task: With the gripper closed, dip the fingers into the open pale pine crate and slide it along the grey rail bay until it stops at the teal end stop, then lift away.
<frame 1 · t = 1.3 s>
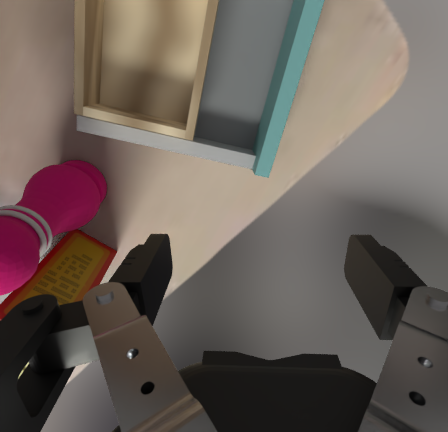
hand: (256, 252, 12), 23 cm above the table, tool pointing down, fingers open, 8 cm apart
crate: (148, 46, 26), point 4 cm above the table, slide at 0.0 cm
bay: (193, 60, 29), on the table
baking soda box: (80, 261, 40), on the table
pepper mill: (82, 183, 35), on the table
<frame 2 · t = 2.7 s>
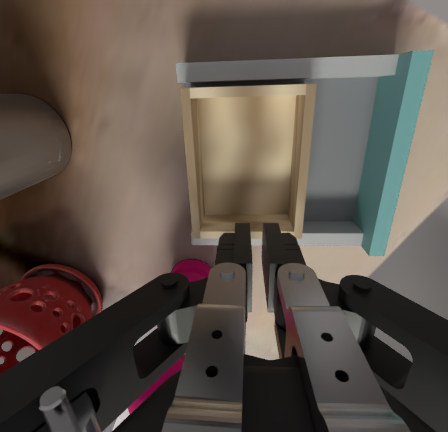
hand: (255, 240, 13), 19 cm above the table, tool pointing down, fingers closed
crate: (246, 164, 28), point 4 cm above the table, slide at 0.0 cm
bay: (281, 155, 31), on the table
plant pot: (66, 292, 41), on the table
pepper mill: (193, 277, 38), on the table
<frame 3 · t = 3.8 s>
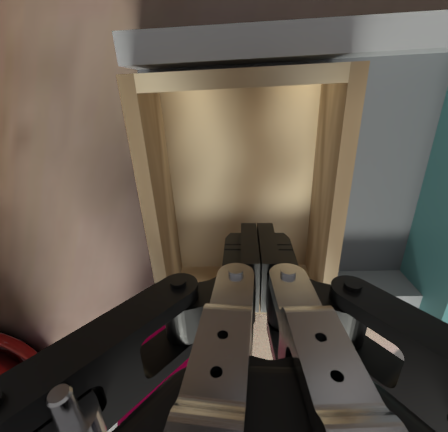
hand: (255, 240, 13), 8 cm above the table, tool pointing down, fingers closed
crate: (241, 198, 17), point 4 cm above the table, slide at 0.0 cm
bay: (294, 178, 20), on the table
plant pot: (4, 360, 30), on the table
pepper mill: (173, 340, 28), on the table
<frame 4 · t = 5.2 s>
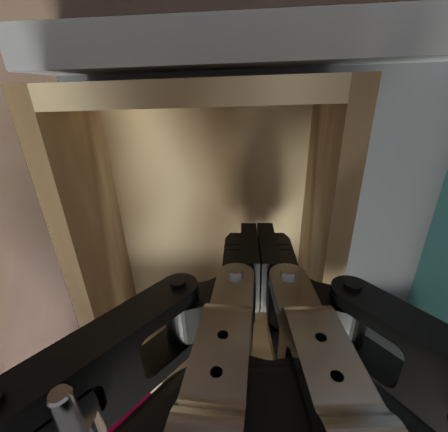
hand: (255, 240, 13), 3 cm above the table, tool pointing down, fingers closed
crate: (206, 246, 13), point 4 cm above the table, slide at 0.8 cm, touching gripper
bay: (267, 214, 16), on the table
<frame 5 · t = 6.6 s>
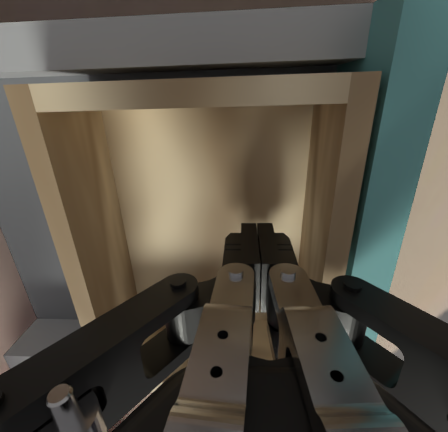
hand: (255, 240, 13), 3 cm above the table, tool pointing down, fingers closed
crate: (207, 245, 13), point 4 cm above the table, slide at 6.6 cm, touching gripper
bay: (168, 214, 17), on the table
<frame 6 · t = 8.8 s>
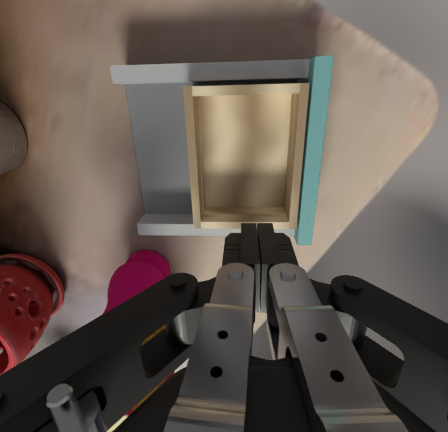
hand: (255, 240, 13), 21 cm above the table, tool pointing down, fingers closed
crate: (244, 158, 29), point 4 cm above the table, slide at 6.6 cm
bay: (221, 152, 33), on the table
baking soda box: (159, 328, 45), on the table
plant pot: (31, 281, 43), on the table
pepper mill: (149, 267, 40), on the table
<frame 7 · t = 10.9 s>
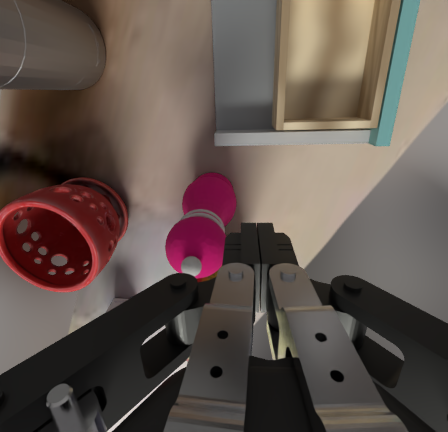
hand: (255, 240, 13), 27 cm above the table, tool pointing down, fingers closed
crate: (327, 59, 30), point 4 cm above the table, slide at 6.6 cm
bay: (296, 63, 34), on the table
plant pot: (94, 211, 44), on the table
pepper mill: (212, 192, 41), on the table
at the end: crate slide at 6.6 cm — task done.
